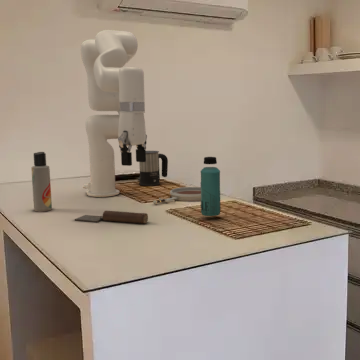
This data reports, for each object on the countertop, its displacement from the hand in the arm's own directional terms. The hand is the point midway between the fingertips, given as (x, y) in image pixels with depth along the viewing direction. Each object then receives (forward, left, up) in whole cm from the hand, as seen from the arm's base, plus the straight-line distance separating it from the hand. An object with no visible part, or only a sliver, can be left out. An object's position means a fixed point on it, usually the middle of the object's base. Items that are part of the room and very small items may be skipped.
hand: (134, 163), depth 154 cm
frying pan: (+2, +34, -18) cm, 39 cm away
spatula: (-6, -4, -18) cm, 19 cm away
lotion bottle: (-37, +3, -18) cm, 41 cm away
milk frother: (-27, +64, -18) cm, 72 cm away
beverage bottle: (+22, +8, -18) cm, 30 cm away
